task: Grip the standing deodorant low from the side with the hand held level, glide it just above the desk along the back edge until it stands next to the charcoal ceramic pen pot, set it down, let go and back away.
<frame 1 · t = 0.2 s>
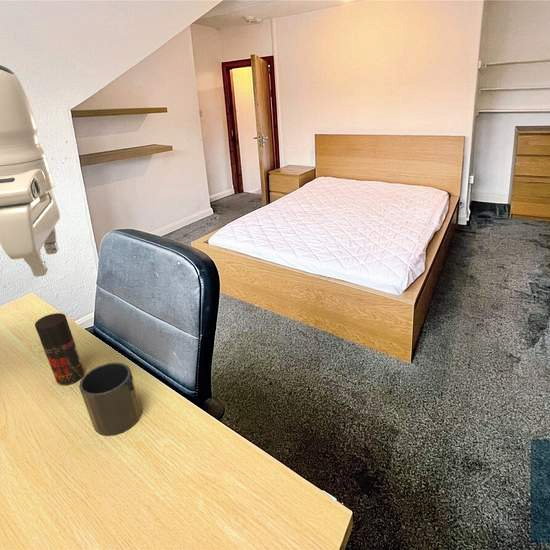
hand: (47, 262, 68), 33 cm above the table, tool pointing down, fingers open, 8 cm apart
deodorant: (70, 377, 93), on the table
pen pot: (117, 417, 80), on the table
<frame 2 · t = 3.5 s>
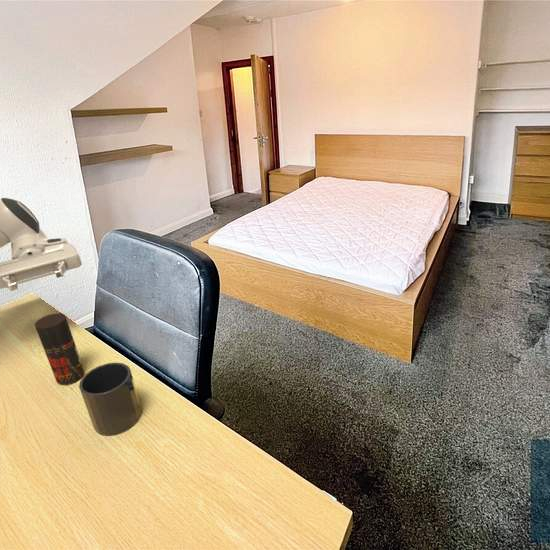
hand: (36, 280, 92), 20 cm above the table, tool horizontal, fingers open, 8 cm apart
nothing on the table moved.
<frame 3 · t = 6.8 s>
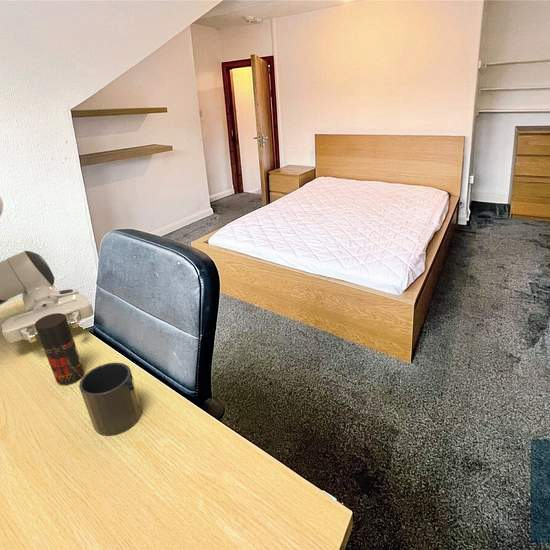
hand: (54, 331, 97), 7 cm above the table, tool horizontal, fingers open, 8 cm apart
nothing on the table moved.
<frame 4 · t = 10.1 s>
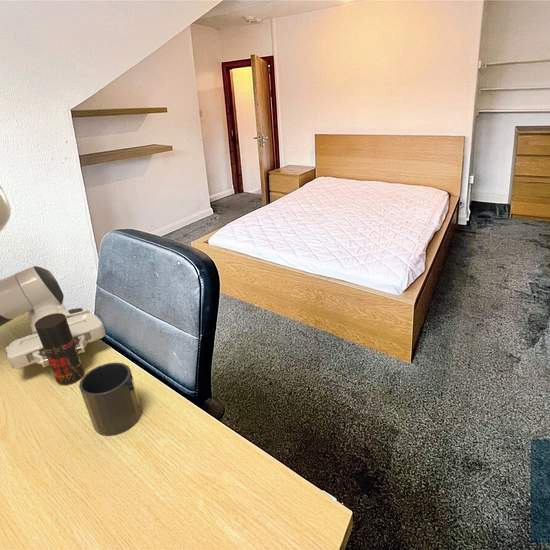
hand: (63, 356, 89), 6 cm above the table, tool horizontal, fingers closed on deodorant, 6 cm apart
deodorant: (71, 377, 93), on the table, touching gripper
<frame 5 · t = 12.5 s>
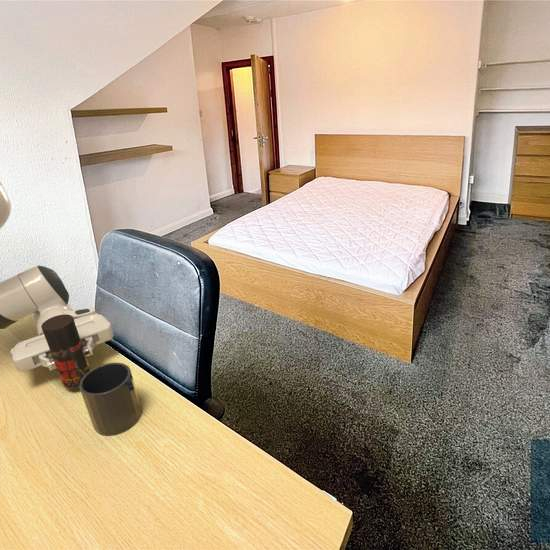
hand: (71, 359, 86), 7 cm above the table, tool horizontal, fingers closed on deodorant, 6 cm apart
deodorant: (78, 380, 90), point 1 cm above the table, touching gripper
when the fingers open (6 cm above the table, at t = 15.2 s): deodorant stays where it is, on the table.
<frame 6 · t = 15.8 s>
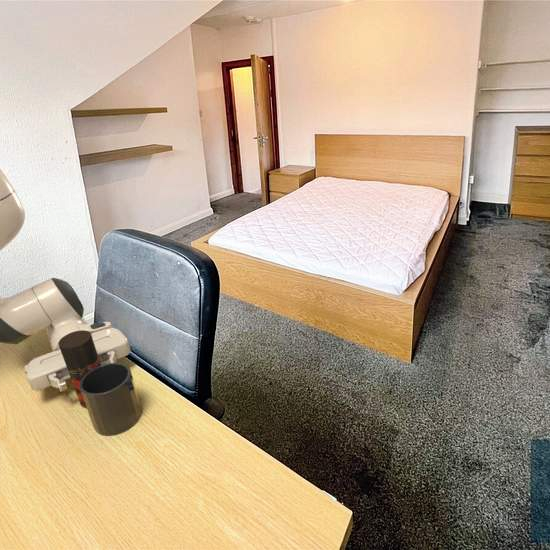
hand: (88, 377, 83), 6 cm above the table, tool horizontal, fingers open, 8 cm apart
deodorant: (95, 398, 86), on the table
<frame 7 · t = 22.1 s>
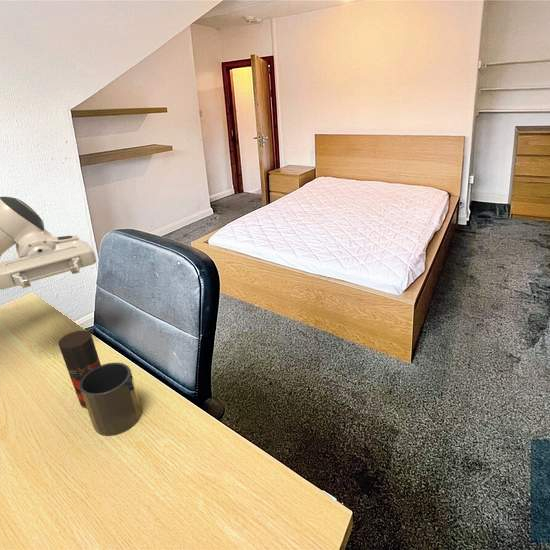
hand: (51, 276, 84), 24 cm above the table, tool horizontal, fingers open, 8 cm apart
nothing on the table moved.
at the end: deodorant 9.1 cm from the pen pot (horizontally); deodorant tilted 0°; deodorant moved 11.3 cm from its start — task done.
